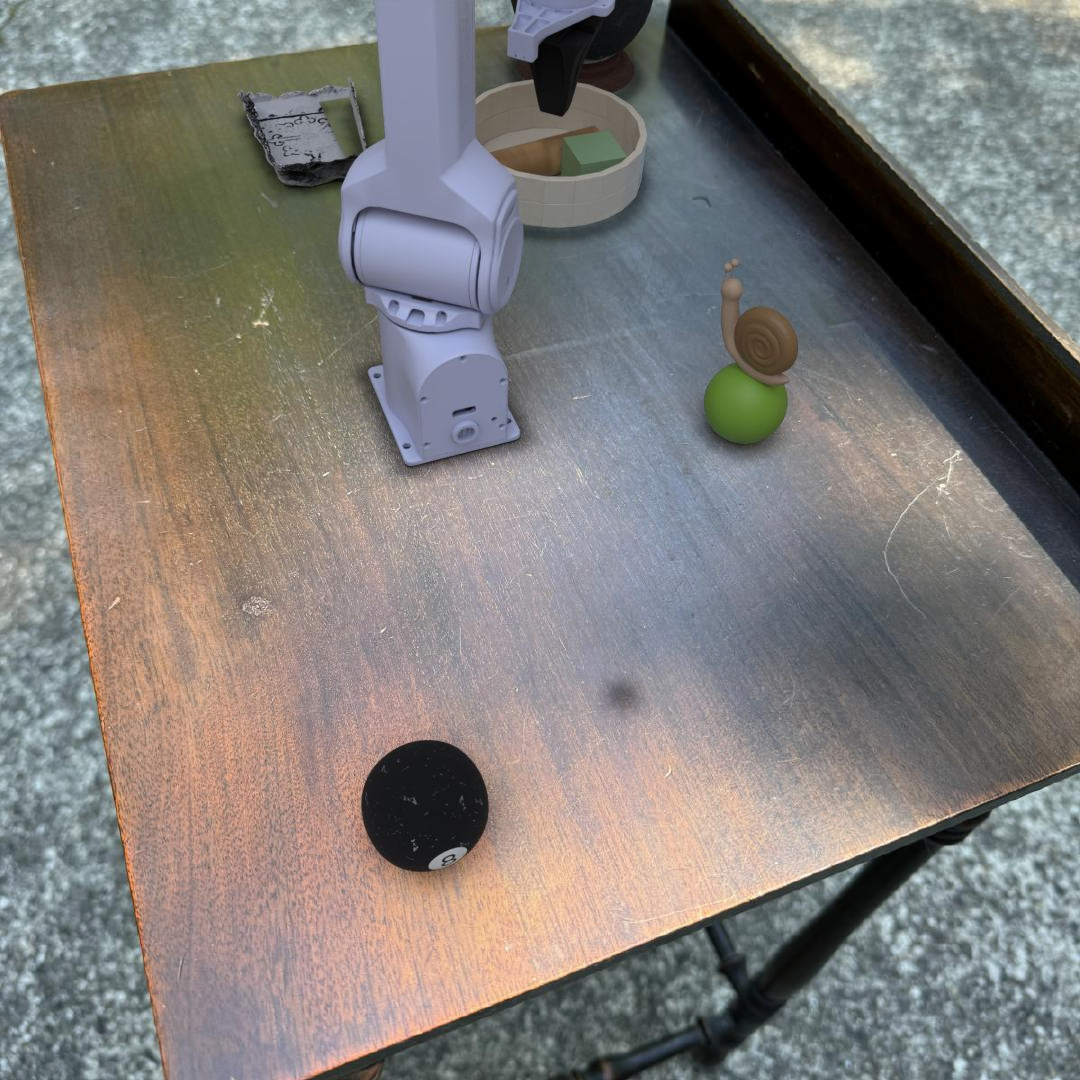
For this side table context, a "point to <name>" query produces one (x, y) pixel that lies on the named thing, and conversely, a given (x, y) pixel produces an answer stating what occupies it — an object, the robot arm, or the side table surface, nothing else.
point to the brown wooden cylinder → (538, 154)
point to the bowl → (519, 120)
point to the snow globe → (608, 47)
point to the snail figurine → (750, 369)
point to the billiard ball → (424, 805)
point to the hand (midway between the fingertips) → (554, 110)
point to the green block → (589, 154)
